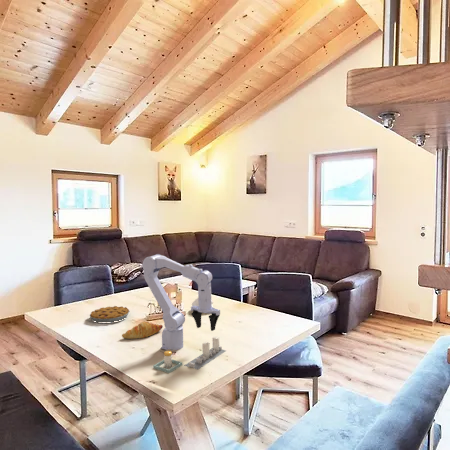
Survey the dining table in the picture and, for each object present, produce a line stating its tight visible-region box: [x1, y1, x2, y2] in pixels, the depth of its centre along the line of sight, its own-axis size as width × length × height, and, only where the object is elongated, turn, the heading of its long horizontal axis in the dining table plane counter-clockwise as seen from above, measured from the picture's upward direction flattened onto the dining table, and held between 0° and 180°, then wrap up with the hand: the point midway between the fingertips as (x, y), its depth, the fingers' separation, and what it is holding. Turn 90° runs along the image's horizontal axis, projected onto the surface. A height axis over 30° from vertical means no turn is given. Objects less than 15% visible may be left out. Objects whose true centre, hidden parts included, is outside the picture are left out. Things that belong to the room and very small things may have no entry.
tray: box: [152, 358, 183, 374], centre depth 146 cm, size 8×8×2 cm
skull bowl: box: [191, 297, 214, 314], centre depth 222 cm, size 10×14×12 cm
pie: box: [89, 305, 130, 323], centre depth 210 cm, size 22×22×5 cm
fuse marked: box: [163, 350, 173, 369], centre depth 146 cm, size 3×3×6 cm
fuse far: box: [211, 336, 220, 353], centre depth 159 cm, size 3×3×6 cm
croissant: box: [121, 321, 163, 340], centre depth 183 cm, size 21×10×8 cm, turn 124°
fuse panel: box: [184, 345, 227, 370], centre depth 153 cm, size 7×21×2 cm, turn 148°
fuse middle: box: [202, 341, 211, 359], centre depth 153 cm, size 3×3×6 cm
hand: (205, 328), depth 161 cm, fingers open, 7 cm apart
